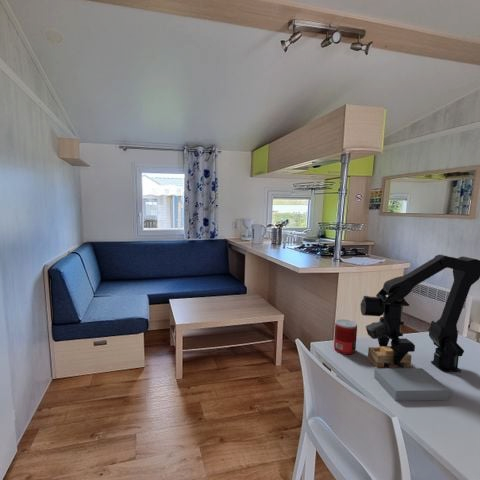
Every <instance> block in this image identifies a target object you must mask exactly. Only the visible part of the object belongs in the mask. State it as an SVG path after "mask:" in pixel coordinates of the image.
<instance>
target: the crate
mask: <svg viewBox="0 0 480 480" xmlns="http://www.w3.org/2000/svg"><path fill="white" fill-rule="evenodd" d="M390 346H391V345H389V346H388V345H387V346H379V347H380V352H381V353H382V354H383V355H393V350H392V349H391V348H390Z"/></svg>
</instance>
